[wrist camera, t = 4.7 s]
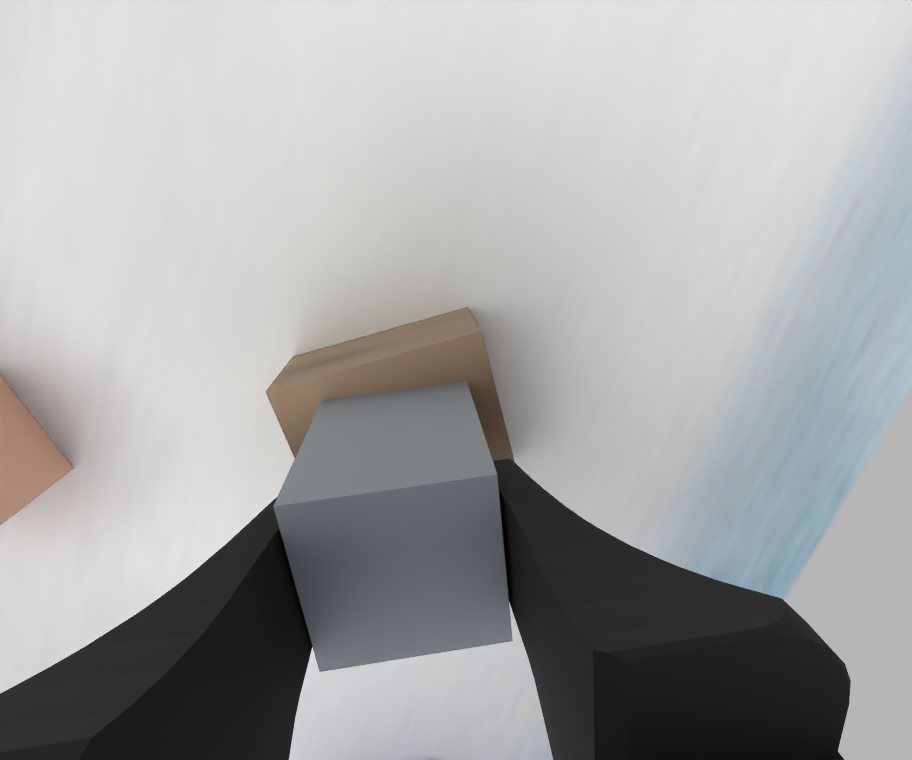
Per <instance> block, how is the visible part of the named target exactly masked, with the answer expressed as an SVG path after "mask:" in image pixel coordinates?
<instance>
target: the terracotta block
mask: <svg viewBox="0 0 912 760" xmlns="http://www.w3.org/2000/svg"><path fill="white" fill-rule="evenodd" d="M72 469H74V468H73V466H72V465H71V464H70V463H69V461H68V460H67V459H66V457H65V456H64V455H63V454H62V452H61V451H60V450H59V449H58V447H57V446H56V445H55V444H54V442H53V441H52V440H51V438H50V437H49V436H48V435H47V433H46V432H45V431H44V430H43V428H42V427H41V426H40V425H39V423H38V422H37V421H36V419H35V418H34V417H33V416H32V414H31V413H30V412H29V411H28V409H27V408H26V407H25V406H24V404H23V403H22V402H21V400H20V399H19V398H18V397H17V395H16V394H15V393H14V392H13V390H12V389H11V388H10V386H9V385H8V384H7V383H6V381H5V380H4V379H3V378H2V376H1V375H0V525H1V524H3V523H4V522H5V521H7V520H8V519H9V518H10V517H12V516H13V515H14V514H16V513H17V512H18V511H19V510H21V509H22V508H23V507H25V506H26V505H27V504H28V503H30V502H31V501H32V500H34V499H35V498H36V497H37V496H39V495H40V494H41V493H43V492H44V491H45V490H46V489H48V488H49V487H50V486H52V485H53V484H54V483H55V482H57V481H58V480H59V479H61V478H62V477H63V476H64V475H66V474H67V473H68V472H70V471H71V470H72Z"/></svg>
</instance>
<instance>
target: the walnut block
mask: <svg viewBox="0 0 912 760" xmlns="http://www.w3.org/2000/svg"><path fill="white" fill-rule="evenodd" d="M464 381H467V384H468V387H469V390H470V393H471V396H472V399H473V402H474V405H475V408H476V411H477V414H478V417H479V420H480V423H481V426H482V429H483V432H484V436H485V439H486V442H487V445H488V448H489V451H490V454H491V457H492V460H493V461H495V460H502V459H511V460H512V461H513V462H514V458H513V454H512V450H511V446H510V443H509V439H508V435H507V431H506V427H505V423H504V419H503V415H502V411H501V407H500V403H499V399H498V395H497V392H496V388H495V384H494V380H493V376H492V372H491V368H490V364H489V360H488V356H487V352H486V348H485V344H484V340H483V337H482V333H481V330H480V328H479V326H478V325H477V323H476V321H475V320H474V318H473V316H472V315H471V313H470V311H469V309H468V308H463V309H460V310H456V311H453V312H449V313H445V314H442V315H438V316H435V317H431V318H428V319H424V320H421V321H417V322H414V323H410V324H407V325H403V326H400V327H396V328H392V329H389V330H385V331H382V332H378V333H375V334H371V335H368V336H364V337H361V338H357V339H354V340H350V341H347V342H343V343H340V344H336V345H332V346H329V347H325V348H322V349H318V350H315V351H311V352H308V353H304V354H301V355H297V356H294V357H292V358H291V360H290V361H289V362H288V364H287V365H286V366H285V367H284V369H283V370H282V371H281V373H280V374H279V375H278V377H277V378H276V379H275V380H274V382H273V383H272V384H271V386H270V387H269V388H268V389H267V391H266V394H267V396H268V398H269V401H270V403H271V405H272V407H273V410H274V412H275V414H276V416H277V419H278V421H279V423H280V426H281V428H282V430H283V432H284V435H285V437H286V439H287V441H288V444H289V446H290V448H291V451H292V453H293V455H294V457H295V458H296V456H297V454H298V451H299V449H300V447H301V445H302V443H303V441H304V438H305V436H306V434H307V432H308V430H309V427H310V425H311V423H312V421H313V419H314V416H315V414H316V412H317V410H318V408H319V406H320V403H321V401H323V400H330V399H338V398H345V397H353V396H360V395H367V394H375V393H382V392H390V391H397V390H405V389H412V388H419V387H427V386H434V385H442V384H449V383H457V382H464ZM514 463H515V462H514Z"/></svg>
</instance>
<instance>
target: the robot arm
mask: <svg viewBox="0 0 912 760" xmlns="http://www.w3.org/2000/svg"><path fill="white" fill-rule="evenodd" d="M493 463H494V466H495V469H496V472H497V478H498V489H499V500H500V510H501V521H502V532H503V543H504V554H505V565H506V576H507V587H508V598H509V602H510V605H511V608H512V611H513V614H514V617H515V620H516V623H517V626H518V629H519V631H520V634H521V637H522V640H523V643H524V646H525V649H526V652H527V655H528V658H529V662H530V665H531V669H532V672H533V675H534V679H535V683H536V687H537V691H538V696H539V700H540V704H541V708H542V713H543V717H544V721H545V725H546V730H547V734H548V738H549V743H550V747H551V751H552V756H553V760H844V759H843V757H842V756H841V755H840V754H839V753H838V747H839V743H840V739H841V734H842V731H843V727H844V723H845V719H846V715H847V710H848V706H849V696H850V678H849V675H848V672H847V669H846V666H845V664H844V662H842V660H841V659H840V658H839V657H838V656H837V655H836V654H835V653H834V652H833V651H832V649H831V648H830V647H829V646H828V645H827V644H826V643H825V642H824V641H823V640H822V639H821V638H820V636H819V635H818V634H817V633H816V632H815V631H814V630H813V629H812V628H811V627H810V625H809V624H808V623H807V622H806V621H805V620H804V619H802V617H801V616H799V615H798V614H797V613H796V612H795V611H794V610H793V609H792V608H791V607H790V606H789V605H788V604H787V603H786V602H785V601H784V600H783V599H781V598H777V597H774V596H770V595H767V594H763V593H760V592H756V591H752V590H749V589H745V588H742V587H738V586H735V585H731V584H728V583H724V582H721V581H718V580H714V579H712V578H709V577H706V576H703V575H700V574H697V573H695V572H692V571H689V570H686V569H683V568H681V567H678V566H676V565H673V564H671V563H668V562H666V561H663V560H661V559H659V558H656V557H654V556H652V555H650V554H648V553H645V552H643V551H641V550H639V549H637V548H634V547H632V546H630V545H628V544H626V543H624V542H622V541H620V540H619V539H617V538H615V537H613V536H611V535H610V534H608V533H606V532H604V531H603V530H601V529H599V528H597V527H596V526H594V525H592V524H591V523H589V522H588V521H586V520H584V519H583V518H581V517H580V516H578V515H577V514H576V513H574V512H573V511H571V510H570V509H568V508H567V507H566V506H564V505H563V504H562V503H560V502H559V501H558V500H557V499H555V498H554V497H553V496H552V495H550V494H549V493H548V492H547V491H545V490H544V489H543V488H542V487H541V486H540V485H538V484H537V483H536V482H535V481H534V480H533V479H532V478H531V477H529V476H528V475H527V474H526V473H525V472H524V471H523V470H522V469H521V468H520V467H519V466H518V465H517V464H516V463H514V462H513V461H512V460H511V459H502V460H495V461H493ZM276 499H277V498H275V499H274V500H273V501H272V502H271V503H270V504H269V505H268V506H267V507H266V508H265V509H264V510H262V511H261V512H260V513H259V514H258V515H257V516H256V517H255V518H254V519H253V520H252V521H251V522H250V523H249V524H248V525H246V526H245V527H244V528H243V529H242V530H241V531H240V532H239V533H238V534H237V535H236V536H235V537H233V538H232V539H231V540H230V541H229V542H228V543H227V544H226V545H225V546H223V547H222V548H221V549H220V550H219V551H217V552H216V553H215V554H214V555H213V556H212V557H210V558H209V559H208V560H207V561H206V562H205V563H203V564H202V565H201V566H200V567H199V568H197V569H196V570H195V571H194V572H193V573H192V574H190V575H189V576H188V577H187V578H185V579H184V580H183V581H181V582H180V583H179V584H178V585H176V586H175V587H174V588H172V589H171V590H170V591H168V592H167V593H165V594H164V595H163V596H161V597H160V598H159V599H157V600H156V601H154V602H153V603H152V604H150V605H149V606H147V607H146V608H145V609H143V610H142V611H140V612H139V613H137V614H136V615H134V616H133V617H131V618H130V619H128V620H126V621H125V622H123V623H122V624H120V625H119V626H117V627H115V628H114V629H112V630H111V631H109V632H108V633H106V634H104V635H103V636H101V637H100V638H98V639H97V640H95V641H93V642H92V643H90V644H89V645H87V646H86V647H84V648H82V649H80V650H79V651H77V652H75V653H74V654H72V655H70V656H68V657H67V658H65V659H63V660H61V661H60V662H58V663H56V664H54V665H53V666H51V667H49V668H47V669H46V670H44V671H42V672H40V673H38V674H36V675H34V676H33V677H31V678H29V679H27V680H25V681H23V682H22V683H20V684H18V685H16V686H14V687H12V688H10V689H8V690H6V691H4V692H3V693H1V694H0V760H289V754H290V748H291V741H292V735H293V728H294V722H295V716H296V711H297V706H298V702H299V697H300V693H301V689H302V685H303V681H304V677H305V673H306V669H307V665H308V661H309V657H310V653H311V649H312V642H311V639H310V635H309V632H308V628H307V625H306V621H305V618H304V614H303V610H302V607H301V603H300V600H299V596H298V593H297V589H296V586H295V582H294V578H293V575H292V571H291V568H290V564H289V561H288V557H287V554H286V550H285V546H284V543H283V539H282V536H281V532H280V529H279V525H278V522H277V518H276V514H275V511H274V507H273V506H274V504H275V502H276Z"/></svg>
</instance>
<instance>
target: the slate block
mask: <svg viewBox="0 0 912 760" xmlns="http://www.w3.org/2000/svg"><path fill="white" fill-rule="evenodd" d="M273 507H274V511H275V514H276V518H277V522H278V525H279V529H280V532H281V536H282V539H283V543H284V546H285V550H286V554H287V557H288V561H289V564H290V568H291V571H292V575H293V578H294V582H295V586H296V589H297V593H298V596H299V600H300V603H301V607H302V610H303V614H304V618H305V621H306V625H307V628H308V632H309V635H310V639H311V642H312V646H313V650H314V653H315V657H316V660H317V664H318V667H319V671H320V672H321V671H327V670H334V669H340V668H346V667H352V666H359V665H365V664H371V663H377V662H384V661H390V660H396V659H402V658H409V657H415V656H421V655H427V654H434V653H440V652H446V651H452V650H459V649H465V648H471V647H478V646H484V645H490V644H496V643H503V642H509V641H512V630H511V620H510V609H509V598H508V587H507V576H506V565H505V554H504V543H503V532H502V521H501V510H500V500H499V489H498V478H497V472H496V469H495V466H494V463H493V460H492V457H491V454H490V451H489V448H488V445H487V442H486V439H485V436H484V432H483V429H482V426H481V423H480V420H479V417H478V414H477V411H476V408H475V405H474V402H473V399H472V396H471V393H470V390H469V387H468V384H467V381H464V382H457V383H449V384H442V385H434V386H427V387H419V388H412V389H405V390H397V391H390V392H382V393H375V394H367V395H360V396H353V397H345V398H338V399H330V400H323V401H321V403H320V406H319V408H318V410H317V412H316V414H315V416H314V419H313V421H312V423H311V425H310V427H309V430H308V432H307V434H306V436H305V438H304V441H303V443H302V445H301V447H300V449H299V451H298V454H297V456H296V458H295V460H294V462H293V465H292V467H291V469H290V471H289V473H288V475H287V478H286V480H285V482H284V484H283V486H282V489H281V491H280V493H279V495H278V497H277V499H276V502H275V504H274V506H273Z"/></svg>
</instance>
